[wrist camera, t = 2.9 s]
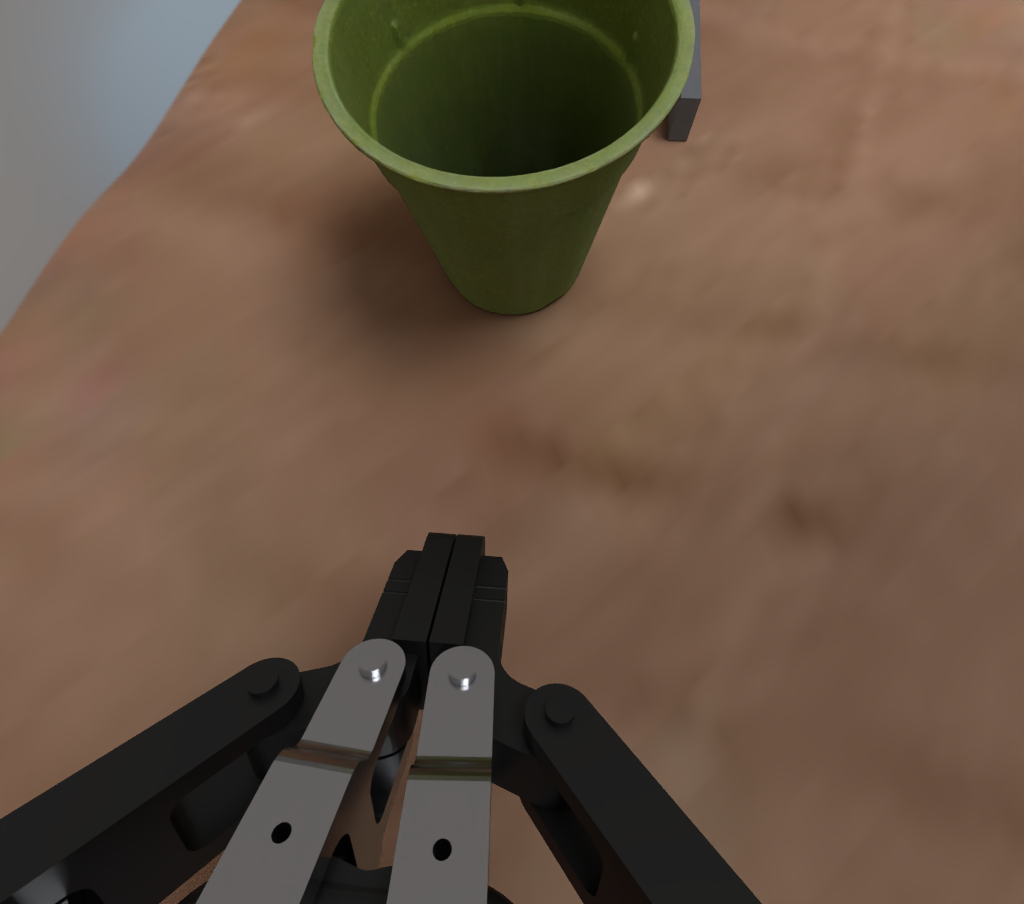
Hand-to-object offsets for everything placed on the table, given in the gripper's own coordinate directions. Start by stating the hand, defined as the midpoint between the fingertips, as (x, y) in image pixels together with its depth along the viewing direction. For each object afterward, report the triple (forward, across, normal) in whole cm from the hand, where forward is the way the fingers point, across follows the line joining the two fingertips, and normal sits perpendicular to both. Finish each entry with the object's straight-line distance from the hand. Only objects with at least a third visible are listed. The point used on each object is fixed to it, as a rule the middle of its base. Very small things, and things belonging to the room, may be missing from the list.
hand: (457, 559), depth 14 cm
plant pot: (+18, 0, -5) cm, 18 cm away
